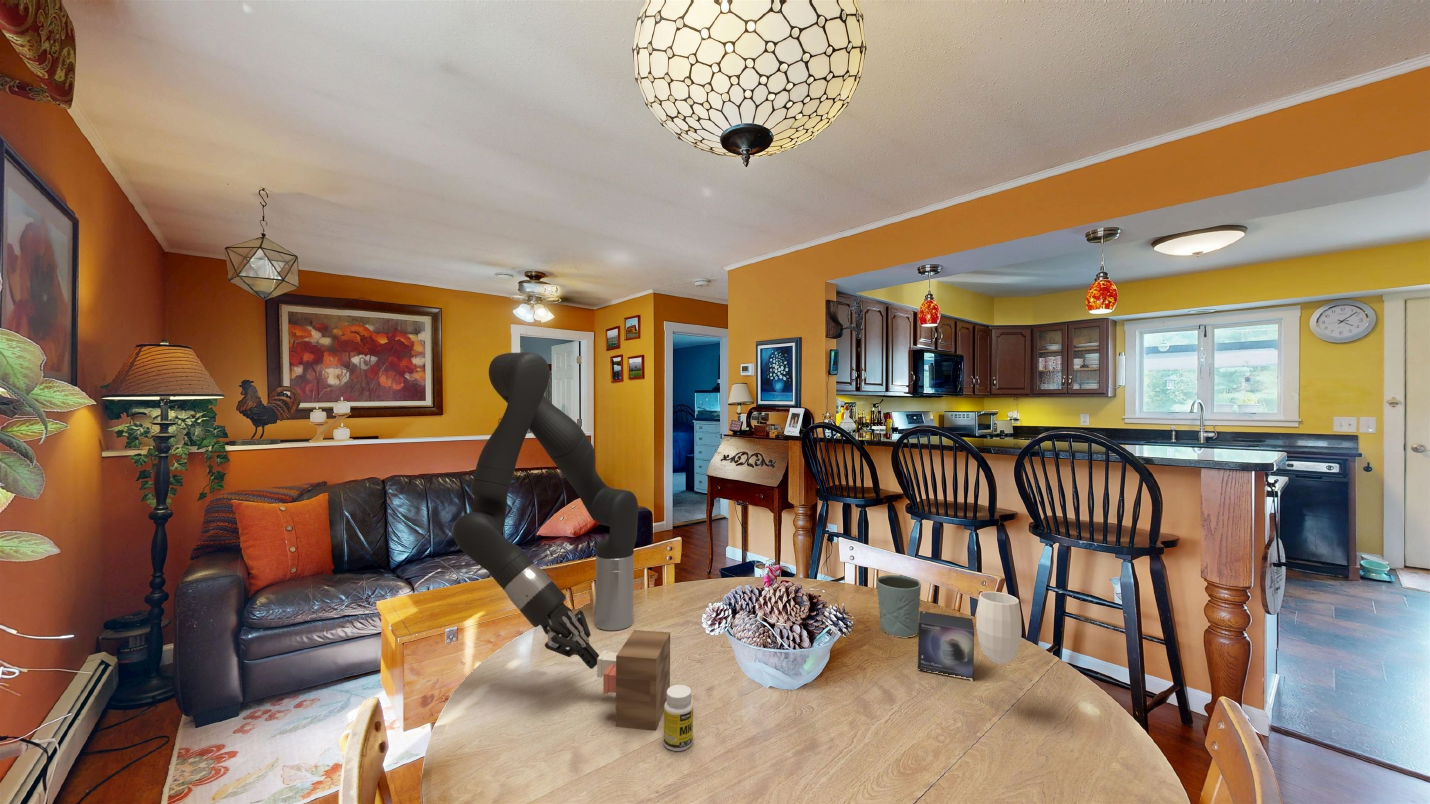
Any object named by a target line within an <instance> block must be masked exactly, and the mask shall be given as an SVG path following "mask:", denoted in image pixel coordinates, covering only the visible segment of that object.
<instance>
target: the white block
mask: <svg viewBox="0 0 1430 804" xmlns="http://www.w3.org/2000/svg"><path fill="white" fill-rule="evenodd" d="M617 654H618V652H613V651H612V652H611V651H609V650H606V649H605V650H603V651H602V652H601V653H600V654H599V657H598V658H597V665H596V678H599V679H602V678H603V674H604V673H605V671H606V670H607V668H608V667H609V665H610V664H612V665H614V666H615V667H616V655H617Z"/></svg>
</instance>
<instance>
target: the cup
mask: <svg viewBox="0 0 1430 804" xmlns="http://www.w3.org/2000/svg"><path fill="white" fill-rule="evenodd" d="M978 596H979V597H978V602H977V607H976V619H975V621H976V622H975V623H976V624H975V626H976V627H975V628H976V634H977V640H978V644H979V647H980V649H981V652H982V653H983V654H984V655H985V656H986V657H987V658H988V660H990V661H991V662H993V663H995V664H998V665H1006V664H1007V663H1009V662H1010V661H1014V660H1015V659H1016V656H1017V654H1018V652H1019V649H1020V646H1021V645H1020V644H1021V639H1022V634H1023V632H1022V631H1023V630H1022V629H1023V628H1022V613H1021V606H1020V600H1019V599H1018V598H1017V597H1015V596H1013V595H1011V594H1008V593H1004V592H998V591H983V592H980V593H979V595H978Z"/></svg>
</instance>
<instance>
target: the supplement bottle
mask: <svg viewBox="0 0 1430 804" xmlns="http://www.w3.org/2000/svg"><path fill="white" fill-rule="evenodd" d="M666 699H667V701H666V702H665V705H664V712H663V745H664V747H666V748H667V749H668V750H669V751H673V752H682V751H685V750H687V749H689V748H690V747H691V746H692V744H693V740H694V735H693V734H694V703H693V701H692V689H691V688H690V687H689V686H687V685H686V684H685V685H684V684H675V685H670V688H668V690H667V697H666Z"/></svg>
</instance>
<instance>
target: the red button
mask: <svg viewBox="0 0 1430 804" xmlns="http://www.w3.org/2000/svg"><path fill="white" fill-rule="evenodd" d="M602 678H603V680H602V681H603V683H602V684H603V686H602V687H603V688H602V689H603V690H602V693H603V694H604V695H608V694H609V693H612V694H613V693H614V694H616V667H615V666H614V665H612V664H610V665H609V667H608V668H607V670H606V671H605V673H604V674H603V676H602Z"/></svg>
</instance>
